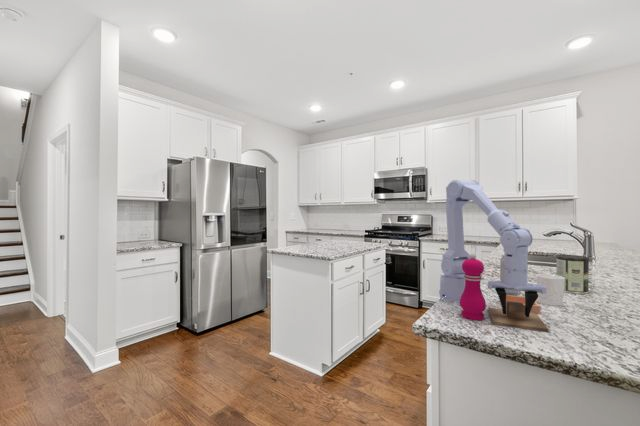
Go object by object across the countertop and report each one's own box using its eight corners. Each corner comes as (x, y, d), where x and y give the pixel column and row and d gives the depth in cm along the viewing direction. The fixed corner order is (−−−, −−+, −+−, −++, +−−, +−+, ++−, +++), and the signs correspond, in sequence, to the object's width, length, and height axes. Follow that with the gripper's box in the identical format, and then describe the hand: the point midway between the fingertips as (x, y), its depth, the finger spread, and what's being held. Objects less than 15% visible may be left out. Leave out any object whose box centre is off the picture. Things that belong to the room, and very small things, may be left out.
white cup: (569, 308, 100) (570, 279, 100) (543, 307, 102) (543, 278, 101) (556, 301, 108) (556, 274, 108) (532, 300, 109) (532, 273, 109)
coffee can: (573, 287, 127) (574, 254, 127) (595, 294, 117) (596, 258, 117) (549, 287, 127) (549, 254, 127) (569, 294, 117) (569, 258, 117)
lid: (492, 324, 86) (492, 307, 86) (488, 310, 97) (488, 295, 97) (548, 331, 80) (548, 314, 80) (536, 315, 92) (536, 300, 92)
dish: (503, 311, 98) (503, 302, 98) (499, 302, 107) (499, 294, 107) (540, 315, 94) (540, 306, 94) (532, 306, 103) (533, 297, 103)
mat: (490, 326, 85) (490, 324, 85) (486, 311, 98) (486, 309, 98) (551, 335, 80) (551, 332, 80) (538, 317, 92) (538, 315, 92)
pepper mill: (475, 324, 87) (476, 256, 87) (454, 316, 93) (454, 253, 93) (491, 320, 90) (491, 254, 90) (469, 312, 97) (469, 251, 96)
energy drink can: (501, 294, 117) (501, 256, 117) (498, 290, 122) (499, 254, 122) (519, 296, 114) (520, 257, 114) (516, 292, 120) (516, 255, 120)
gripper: (489, 269, 88) (488, 315, 88) (549, 274, 82) (549, 323, 82) (487, 265, 94) (486, 308, 95) (542, 269, 88) (542, 314, 88)
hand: (515, 314), depth 89 cm, fingers open, 5 cm apart
